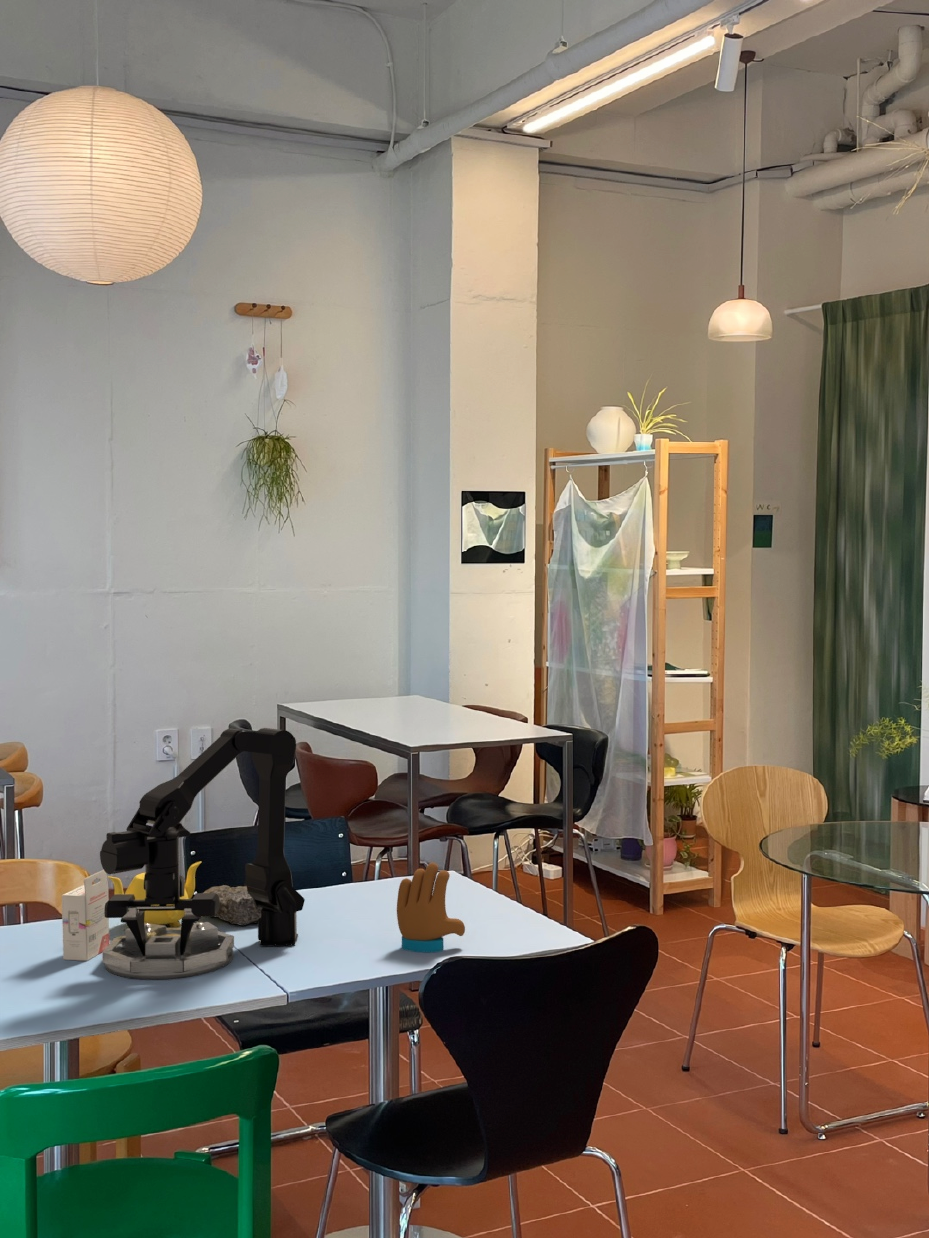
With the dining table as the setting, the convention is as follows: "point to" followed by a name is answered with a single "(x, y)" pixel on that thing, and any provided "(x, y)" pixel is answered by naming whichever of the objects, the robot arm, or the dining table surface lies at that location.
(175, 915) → the teapot
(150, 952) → the square pipe segment
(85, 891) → the ink cartridge box
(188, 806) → the robot arm
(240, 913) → the rock
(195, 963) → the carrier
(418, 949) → the toy
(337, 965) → the dining table surface
